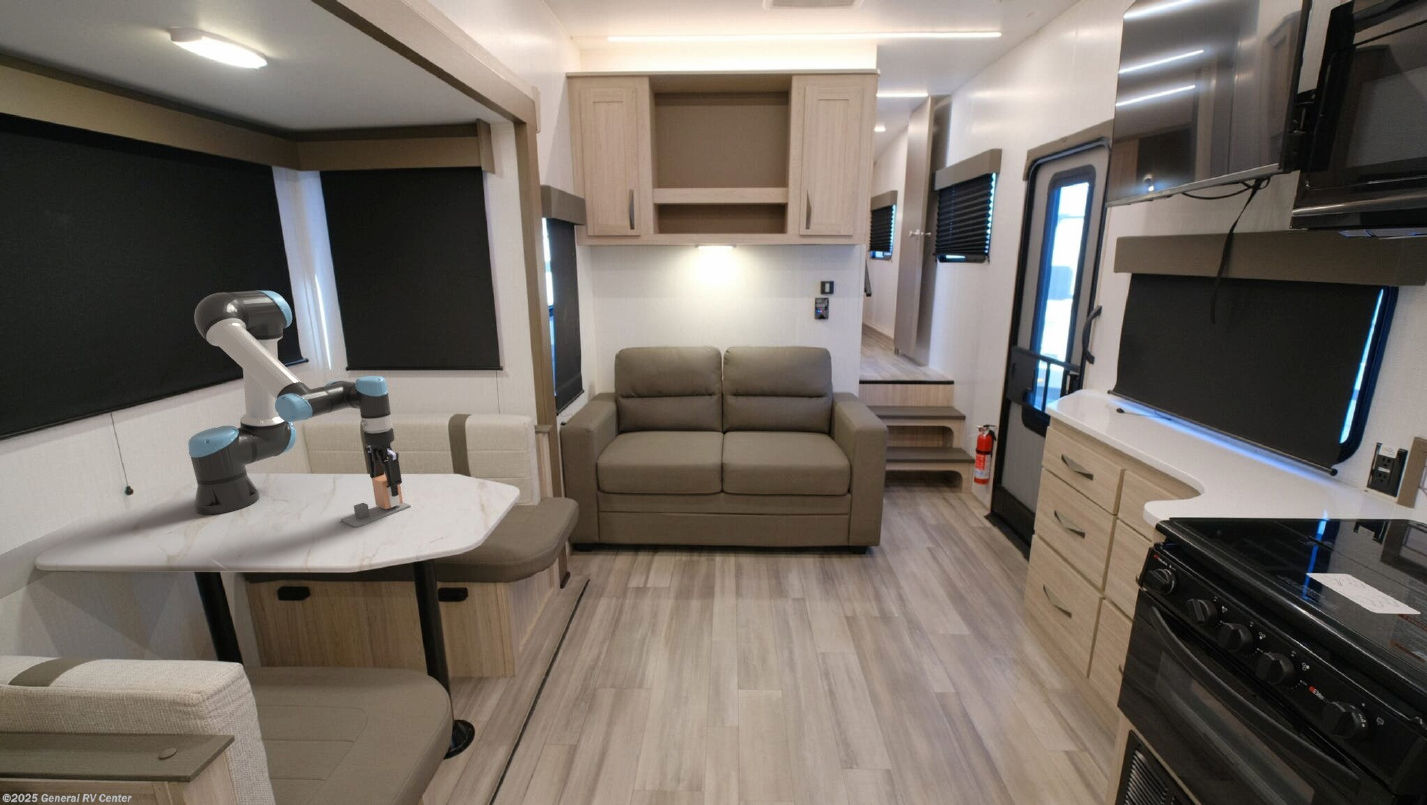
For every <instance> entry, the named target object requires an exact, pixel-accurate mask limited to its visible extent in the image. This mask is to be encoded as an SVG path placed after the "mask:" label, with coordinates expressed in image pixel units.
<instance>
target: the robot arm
mask: <svg viewBox="0 0 1427 805" xmlns="http://www.w3.org/2000/svg"><path fill="white" fill-rule="evenodd" d="M292 314H293V313H292V310H291V307H290V305H289V304H288V302H287V301H286V300H285V298H283V296H282V295H280V294H279V293H277V292H275V291H272V290H259V289H258V290H248V291H247V290H246V291H231V292H216V293H213V294H212V293H211V294H210V295H207V296H206V297H204V298H203V299H201V301H200V302H199V303H198V304H197V306H196V308H195V310H194V315H193V316H194V324H195V327H196V330H198V333H199V334H200V335H201V337H202V338H203V339H205V340H206V341H207V342H208V343H209V344H210V345H212V346H215V347H219V348H221V350H222V351H223V352H225V353H226V354H227V355H228V356H229V357H230V358H231V359H232V360H234V362H236V364H237V365H238V366H240V367H241V368H242V374H243V388H244V401H245V402H244V404H245V414H243V415H242V416H241V417H240V418H239V424H240V426H239V427H236V426H235V425H222V426H221V425H220V426H217V427H211V428H208V429H204V430H203V431H200V432H198V433H195V434H194V435H192V436H191V437H190V438H189V440H188V442H187V443H188V444H187V445H188V455H189V456H190V460H191V463H192V468H193V472H194V476H195V479H196V482H197V483H196V484H197V489H196V493H195V498H194V503H193V506H194V509H195V512H196V513H198V514H201V515H216V514H217V515H218V514H225V513H228V512H233V511H237V510H240V509H243V508H246V507H249V506H250V505H252V504H254V503H256V502H257V501H259V500H260V494H259V493H260V492H259V490H258V489H257V487H256V485H255V484H254V483H253V482H252V479H251V478H249V476H248V473H247V472H248V471H247V465H250V464H254V463H256V462H261V461H264V460H266V459H270V458H272V457H278V456H280V455H283V454H285V453H286V452H289V451H290V450H291V449H293V447H294V446H295V444H296V441H297V430H296V428H295V427H294V424H293V422H299V421H305V420H308V419H311V418H314V417H317V416H322V415H326V414H329V413H334V412H337V411H338V412H339V411H341V410H345V409H350V408H351V409H356V410H358V409H359V412H360V418H361V419H360V420H361V422H360V424H361V426H362V430H363V438H364V444H365V445H367V446H366V447H364V450H365V453H366V456H367V457H366V459H367V464H368V471H369V477H370V478H371V479H372V478H375V477H378V476H381V475H384V474H385V475H386V479H387V482H388V485H387V486H386V487H387V491H388V497H389V504H390V507H394V506H397V505H399V504H400V499H399V492H398V484H400V485H401V484H402V483H403V481H402V479H403V478H402V474H401V469H400V467H401V466H400V461H399V458H400V457H399V456H400V454H399V452H398V451H397V452H394V451H393V448H392V445H391V444H392V443H393V442H394V441H395V439H396V438H395V432H394V428H393V426H394V425H393V419H392V413H391V406H390V397H389V389H388V384H387V381H386V378H385V377H383V376H381V375H367V376H362V377H358V378H356V380H355V382H354V381H347V380H333V381H329V382H328V383H327V384H325V385H323V386H319V387H315V388H310V387H309V386H307V385H306V384H305V383H304V382H303V381H301V380H300V379H299V378H298V376H296V375H295V374H294V373H293V372H292V371H291V370H290V369H289V368H287V367H286V366H285V365H284V364H283V363H282V362H281V361H280V360H279V357H278V355H279V354H278V341H279V340H281V339H283V336H284V332H283V331H284V329H286V328H288V327H290V325H291V324H292V320H293V315H292Z"/></svg>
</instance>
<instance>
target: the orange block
mask: <svg viewBox="0 0 1427 805" xmlns="http://www.w3.org/2000/svg"><path fill="white" fill-rule="evenodd" d="M371 481H372V489H373V495H374V496H373V497H374V501H375V502H374V503H375V507H376V506H379V507H381V508H384V509H388V508H391V507H390V504H389V497H388V491H387V487H386V486H387V485H388V482H387V479H386V475H385V473H384V475H381V476H378V477H375V478H371ZM398 492H399V499H400V504H402V503H403V494H402V486H401V484H398Z"/></svg>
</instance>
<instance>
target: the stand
mask: <svg viewBox="0 0 1427 805" xmlns="http://www.w3.org/2000/svg"><path fill="white" fill-rule="evenodd" d="M411 506H412V505H411V504H409V503H406V502H403V503H402V504H399V505H397V506H394V507H391V508H388V509H384V508H381V507H379V506H376V505H375V506H373V507H370V508H369V504H368V503H365V502H361V503H358V504H355V505H353V512H354V514H351V515H347V516H345V517H343V518H340V521H341V522H342V523H344V524H346V525H349V526H352V527H354V528H359V527H361V526H364V525H367V524H369V523H372V522H375V521H377V520H381V519H382V518H386V517H388V516H391V515H394V514H396V513H399V512H401V511H404V510H406V509H409V508H411Z"/></svg>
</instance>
